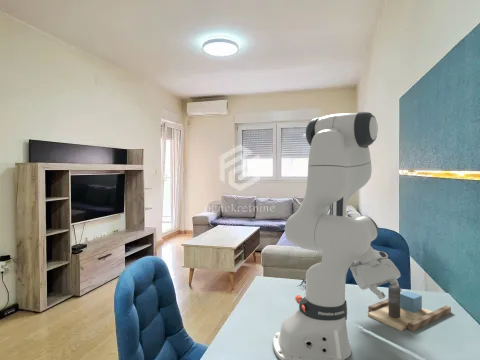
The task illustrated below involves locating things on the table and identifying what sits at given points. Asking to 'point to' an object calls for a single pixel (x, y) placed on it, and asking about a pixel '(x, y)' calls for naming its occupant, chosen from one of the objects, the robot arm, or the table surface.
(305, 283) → the creature
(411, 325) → the track
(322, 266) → the robot arm
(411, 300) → the cube
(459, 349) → the table surface
